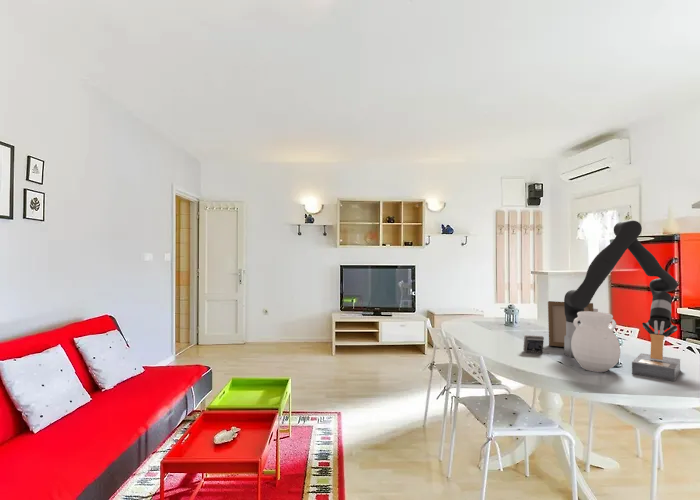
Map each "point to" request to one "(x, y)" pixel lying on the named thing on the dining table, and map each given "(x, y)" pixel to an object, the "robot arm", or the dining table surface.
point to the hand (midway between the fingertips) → (658, 342)
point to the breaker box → (656, 367)
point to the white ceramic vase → (595, 341)
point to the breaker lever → (656, 346)
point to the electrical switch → (533, 344)
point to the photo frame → (558, 322)
